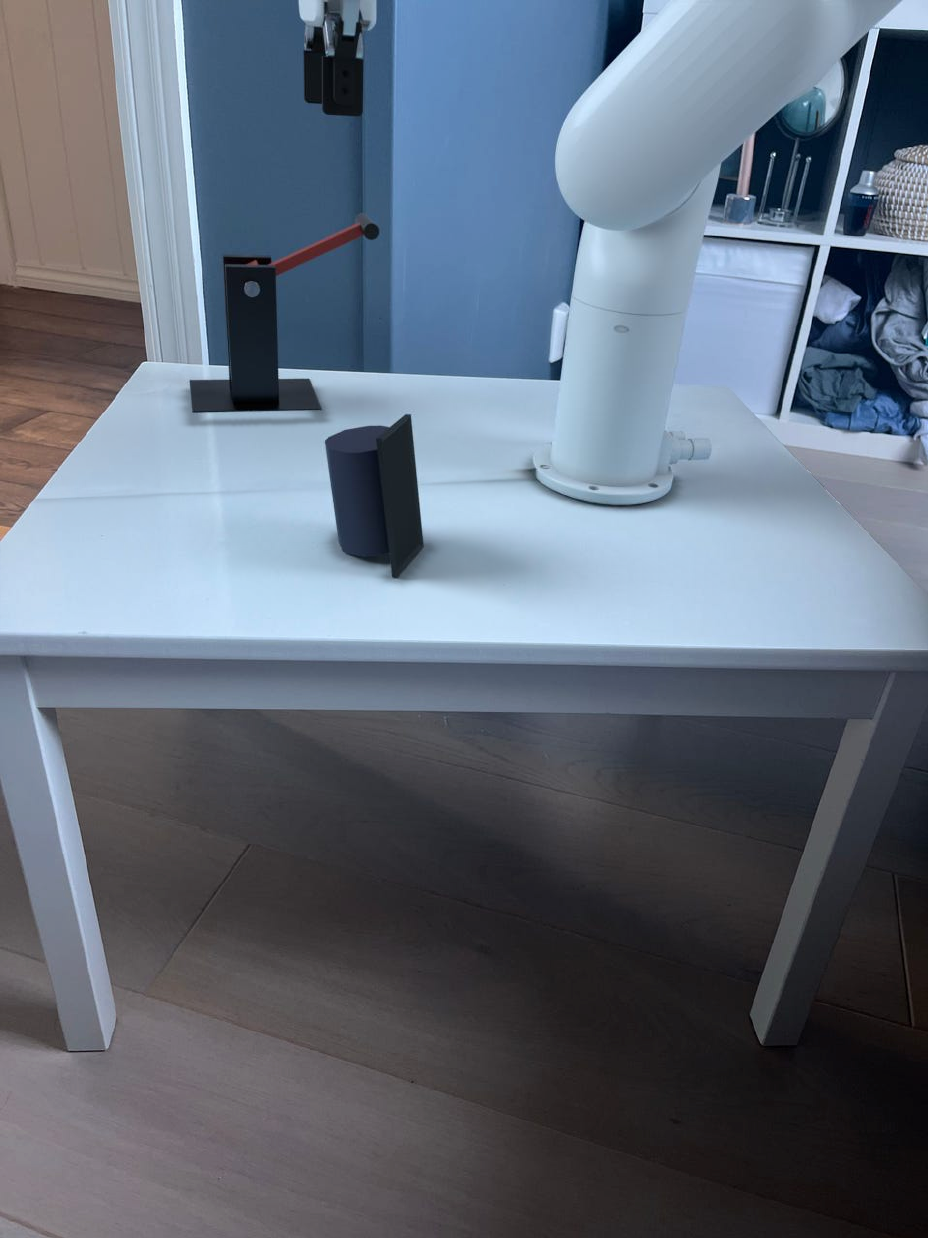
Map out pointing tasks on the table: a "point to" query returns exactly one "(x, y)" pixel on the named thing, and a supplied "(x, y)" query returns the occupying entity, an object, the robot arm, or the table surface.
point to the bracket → (251, 347)
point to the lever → (327, 244)
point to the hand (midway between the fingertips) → (332, 108)
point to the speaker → (376, 492)
